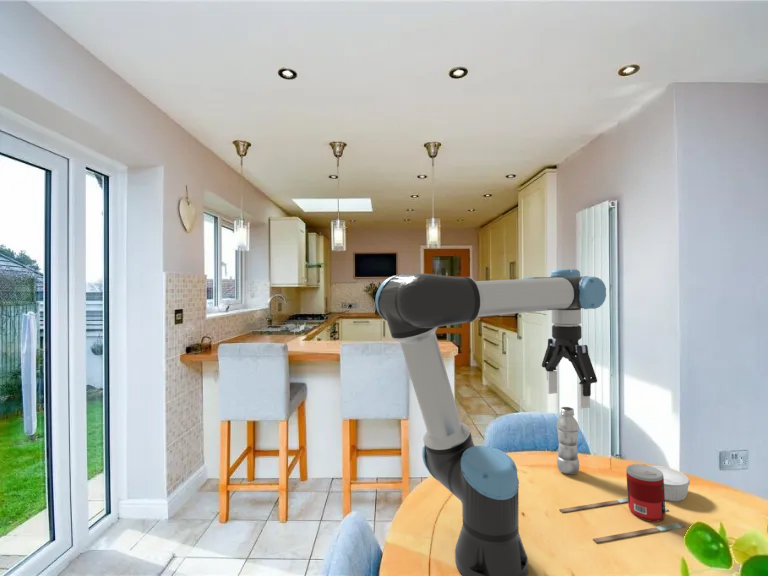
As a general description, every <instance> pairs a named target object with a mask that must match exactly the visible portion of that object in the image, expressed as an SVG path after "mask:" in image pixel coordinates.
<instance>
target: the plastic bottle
mask: <svg viewBox="0 0 768 576" xmlns="http://www.w3.org/2000/svg"><path fill="white" fill-rule="evenodd" d="M574 411H575V410H574V408H573V407H570V406H562V407H561V409H560V415H561V416H560V417H559V419H558V420H557V422H556V429H557V430H556V431H557V436H558V453H557V457H556V466H557V469H558V470H559V472H561V473H563V474H566V475H576V474H577V473H578V472H579V470H580V460H579V455H578V436H579V431H580V430H579V429H580V426H579V423H578V421H577V419H576V418H575V417H574V416H575V413H574Z"/></svg>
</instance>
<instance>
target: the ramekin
mask: <svg viewBox="0 0 768 576" xmlns="http://www.w3.org/2000/svg"><path fill="white" fill-rule="evenodd" d="M650 466H651V467H654V468H657V469H659V470H660V471H661V472H662V473H663V477H664V494H665V501H667V500H670V501H669V502H682V501H683V500H685V498H687V496H688V491H689V485H690V481H691V480H690V478H689V477H688V476H687V475H686V474H685V473H683V472H682V471H679V470H677V469H674V468H670V467H667V466H663V465H650ZM681 500H682V501H681Z"/></svg>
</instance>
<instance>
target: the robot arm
mask: <svg viewBox="0 0 768 576" xmlns="http://www.w3.org/2000/svg"><path fill="white" fill-rule="evenodd" d="M550 273H551V275H550V276H541V277H540V276H537V277H536V276H535V277H533V276H529V277H522V278H519V279H517V278H516V279H515V278H514V279H497V280H496V279H494V280H492V279H491V280H475V279H474V278H472V277H471V276H449V275H439V274H431V273H414V274H413V273H409V274H408V273H401V274H396V275H392V276H389V277H388V278H386V279H385V280H384V281H383V282H382V283H381V284H380V285H379V287H378V290H377V291H376V294H375V299H374V300H375V301H374V303H375V308H376V310H377V312H378V314H379V316H381V318H382V319H383V320H385V321H386V323H387V327H388V329H389V332H390V335H391V338H392V339H393V340H395V341H397V342H399V344H400V346H401V349H402V353H403V356H404V360H405V363H406V366H407V369H408V372H409V373H408V374H409V376H410V379H411V383H412V385H413V390H414V393H415V396H416V400H417V403H418V406H419V409H420V412H421V417H422V419H423V422H424V426H425V429H426V432H425V433H424V436H423V444H424V446H423V447H422V450H421V451H422V454H421V455H422V462H423V464H424V466H425V468H426V469H427V471H428V473H429V474H430V476H431V477H433V478H434V479H435V480H436V481H438V482H439V483H440V484H441V485H442V486H443V487H444V488H446V490H448V491H449V492H450V493H452V495H454V496H455V497H456V498H457V499H458V500H459V501H460V502H461V508H462V525H461V530H460V533H459V535H458V539H457V542H456V545H455V549H454V556H455V557H454V558H455V559H454V561H455V565H456V568H457V570H458V571H459V573H460V574H461V576H462V575H463V576H527V575H528V574H529V560H528V559H529V558H528V556H527V555H528V554H527V553H526V549H525V547H524V542H523V541H522V538H521V535H520V532H519V531H520V530H519V529H520V527H519V488H520V486H519V485H520V481H519V475H518V470H517V469H518V467H517V465H516V462H515V460H513V458H512V457H510V456H509V455H508V454H507V453H506V452H504V451H503V450H500V449H498V448H496V447H493V448H492V447H490V446H486V445H476V444H475V443H474V441H473V437H472V434H471V433H472V432H471V431H470V427H469V426H468V424H466V423H465V422H462V421H461V418H460V414H459V411H458V407H457V404H456V400H455V397H454V393H453V391H452V386H451V383H450V380H449V375H448V373H447V369H446V365H445V362H444V359H443V355H442V352H441V347H440V344H439V342H438V341H439V340H438V338H437V334H436V332H437V330H438V328H440V327H444V326H445V327H446V326H452V325H460V324H468V323H473V322H475V321H476V320H477V319H478V318H480V317H490V316H491V317H492V316H501V315H502V316H503V315H511V314H521V313H522V314H525V313H532V312H533V313H534V312H545V311H551V323H552V324H553V325H552V326H551V336H552V338H548V339H547V346H546V347H547V348H546V351H545V353H544V357H543V358H542V359H543V360H542V363H541V367H542V368H544V370H545V371H546V381H547V394H549V395H551V394H558V371H557V370H558V369H557V367H558V365H559V364H560V362H561V360H562V359H563V358H565V359H567V360H568V361H569V362H570V363H571V365H572V367H573V369H574V371H575V373H576V375H577V376H578V379H579V381H580V382H578V408H579V409H587V408H588V409H589V408H591V395H592V392H591V391H592V384H596V383H598V378H597V376H596V372H595V369H594V366H593V363H592V361H591V358H590V354H589V348H588V344H579V343H580V342H579V340H581V339H582V338H583V335H582V330H583V329H582V326H581V325H580V324H582V309H583V310H591V309H592V310H594V309H599V308H600V307H601V306H602V305H604V303H605V301H606V298H607V288H606V284H605V282H604V281H603V280H602V279H601V278H599V277H596V276H588V275H585V276H581V272H580V270H578V269H575V268H572V269H569V268H567V269H554V270H552V271H551V272H550Z"/></svg>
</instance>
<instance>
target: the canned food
mask: <svg viewBox="0 0 768 576" xmlns="http://www.w3.org/2000/svg"><path fill="white" fill-rule="evenodd" d="M651 466H652V465H646V464H641V463H639V464H638V463H635V464H629V465H627V466H626V474H625V475H626V488H627V489H626V491H627V498H628V502H627V503H628V504H627V506H628V509H629V512H630V513H631V514H632V515H633V516H635V517H637V518H638V519H640V520H644V521H647V522H659V521H663V520H664V519H665V517H666V511H665V509H666V500H665V494H664V477H663V473H662V472H661V471H660V470H659V469H657V468H654V467H651Z"/></svg>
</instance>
